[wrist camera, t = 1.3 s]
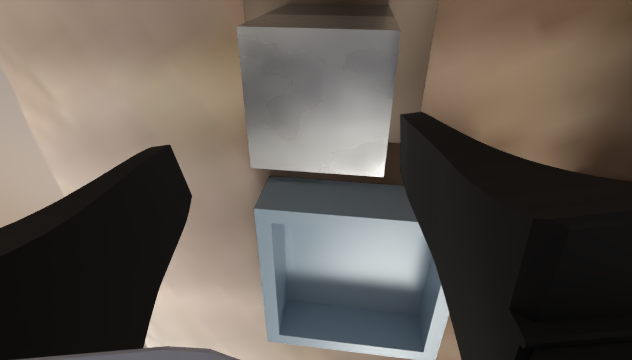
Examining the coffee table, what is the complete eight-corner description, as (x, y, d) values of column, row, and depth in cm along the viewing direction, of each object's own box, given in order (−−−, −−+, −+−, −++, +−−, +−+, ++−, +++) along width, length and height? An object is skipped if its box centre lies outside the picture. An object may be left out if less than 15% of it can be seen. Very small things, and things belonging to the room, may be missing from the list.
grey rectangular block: (389, 5, 18) (401, 30, 11) (379, 103, 21) (383, 177, 14) (288, 3, 19) (236, 26, 12) (291, 99, 21) (250, 168, 14)
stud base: (443, -51, 17) (467, -56, 13) (413, 138, 22) (424, 178, 18) (244, -51, 18) (205, -56, 14) (259, 129, 24) (234, 165, 19)
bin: (459, 189, 24) (474, 226, 20) (427, 318, 31) (434, 362, 27) (269, 176, 25) (254, 208, 22) (278, 301, 32) (267, 341, 29)
